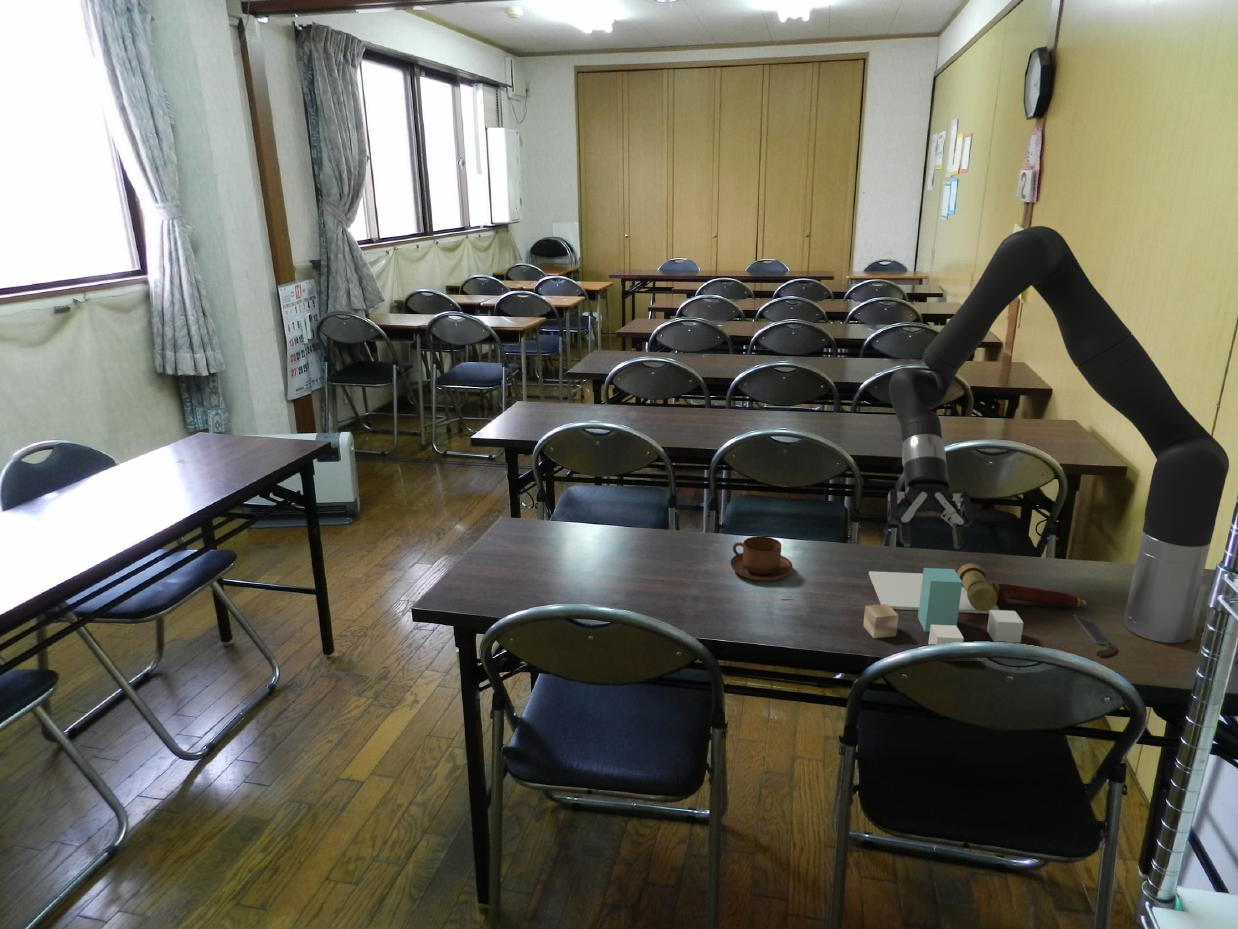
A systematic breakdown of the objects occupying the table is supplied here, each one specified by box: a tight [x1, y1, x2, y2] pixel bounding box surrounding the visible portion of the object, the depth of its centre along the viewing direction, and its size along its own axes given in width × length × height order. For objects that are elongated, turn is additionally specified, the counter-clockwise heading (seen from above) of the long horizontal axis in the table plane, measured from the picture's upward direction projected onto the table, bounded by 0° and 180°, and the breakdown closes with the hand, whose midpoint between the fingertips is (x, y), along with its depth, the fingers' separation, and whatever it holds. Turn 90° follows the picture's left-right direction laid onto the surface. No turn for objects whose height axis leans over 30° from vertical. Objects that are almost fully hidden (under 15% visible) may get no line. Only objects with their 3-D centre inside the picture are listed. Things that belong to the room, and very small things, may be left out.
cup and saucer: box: [730, 536, 793, 582], centre depth 157 cm, size 12×12×6 cm
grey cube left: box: [986, 609, 1024, 643], centre depth 133 cm, size 4×4×4 cm
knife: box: [1072, 614, 1118, 659], centre depth 133 cm, size 14×4×1 cm, turn 172°
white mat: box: [868, 570, 1000, 615], centre depth 148 cm, size 20×14×1 cm
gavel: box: [956, 562, 1087, 611], centre depth 143 cm, size 21×5×10 cm
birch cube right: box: [863, 603, 899, 639], centre depth 135 cm, size 4×4×4 cm
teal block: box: [917, 567, 962, 633], centre depth 136 cm, size 5×5×10 cm
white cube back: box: [927, 625, 964, 645], centre depth 128 cm, size 4×4×4 cm
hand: (933, 546), depth 141 cm, fingers open, 8 cm apart
